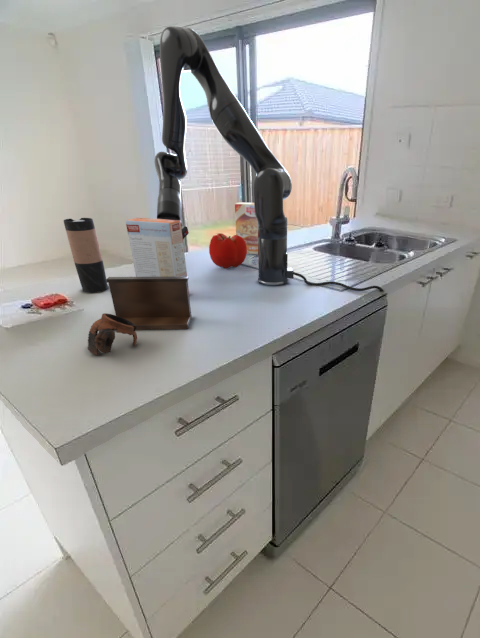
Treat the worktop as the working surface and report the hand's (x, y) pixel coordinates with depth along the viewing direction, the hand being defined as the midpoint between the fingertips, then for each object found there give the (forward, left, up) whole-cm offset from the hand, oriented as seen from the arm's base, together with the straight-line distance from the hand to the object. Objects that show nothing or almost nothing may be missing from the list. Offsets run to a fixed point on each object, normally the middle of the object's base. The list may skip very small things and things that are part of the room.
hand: (167, 254), depth 116 cm
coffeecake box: (-28, -43, -9) cm, 52 cm away
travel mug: (+22, +6, -9) cm, 25 cm away
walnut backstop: (-2, +35, -9) cm, 36 cm away
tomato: (-18, -20, -9) cm, 28 cm away
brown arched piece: (+4, +48, -9) cm, 49 cm away
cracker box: (0, +12, -9) cm, 15 cm away
